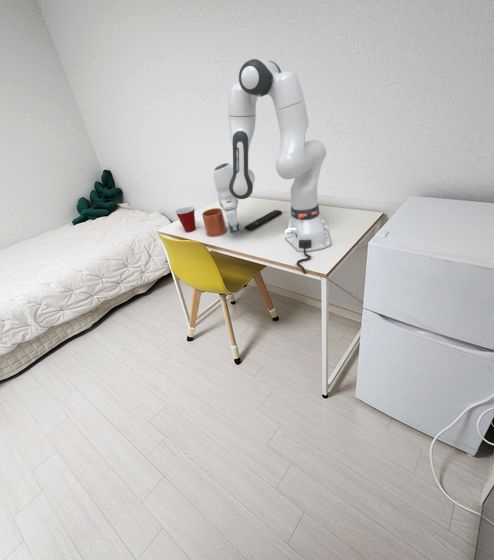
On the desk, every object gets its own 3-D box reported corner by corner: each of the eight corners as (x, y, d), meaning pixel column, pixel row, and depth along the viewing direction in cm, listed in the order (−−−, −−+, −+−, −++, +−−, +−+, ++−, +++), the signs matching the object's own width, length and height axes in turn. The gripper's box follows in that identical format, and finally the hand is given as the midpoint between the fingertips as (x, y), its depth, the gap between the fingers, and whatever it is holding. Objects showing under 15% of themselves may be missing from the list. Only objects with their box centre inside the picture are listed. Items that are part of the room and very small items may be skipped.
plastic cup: (203, 225, 172) (197, 204, 165) (195, 233, 163) (189, 212, 157) (185, 225, 175) (179, 205, 169) (177, 234, 167) (171, 213, 160)
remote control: (244, 229, 158) (244, 226, 157) (275, 211, 170) (275, 209, 169) (251, 231, 154) (251, 228, 154) (282, 213, 167) (282, 211, 166)
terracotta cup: (226, 234, 157) (222, 213, 151) (207, 238, 157) (201, 217, 151) (226, 226, 165) (221, 206, 159) (207, 230, 165) (202, 210, 159)
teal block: (240, 231, 151) (238, 223, 149) (230, 233, 151) (229, 225, 148) (239, 227, 155) (237, 220, 153) (230, 229, 155) (228, 222, 153)
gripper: (220, 195, 153) (226, 221, 161) (223, 208, 136) (229, 237, 143) (233, 192, 153) (238, 218, 161) (237, 205, 136) (243, 234, 143)
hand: (234, 227), depth 152 cm, fingers closed on teal block, 5 cm apart
